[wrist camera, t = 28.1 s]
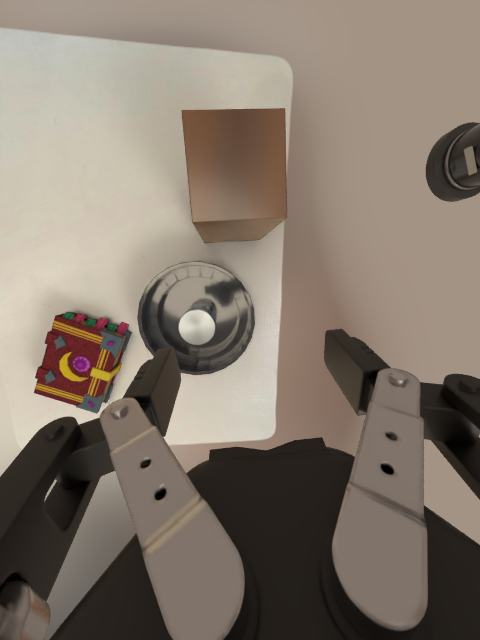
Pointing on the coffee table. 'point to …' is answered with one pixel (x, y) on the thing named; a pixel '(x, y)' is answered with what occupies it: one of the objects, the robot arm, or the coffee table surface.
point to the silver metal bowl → (178, 296)
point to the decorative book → (81, 360)
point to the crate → (236, 172)
